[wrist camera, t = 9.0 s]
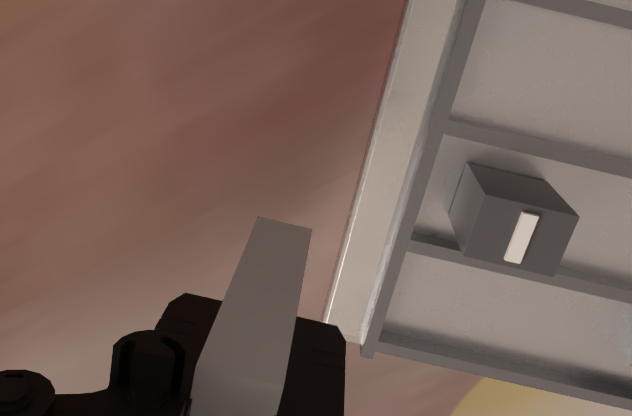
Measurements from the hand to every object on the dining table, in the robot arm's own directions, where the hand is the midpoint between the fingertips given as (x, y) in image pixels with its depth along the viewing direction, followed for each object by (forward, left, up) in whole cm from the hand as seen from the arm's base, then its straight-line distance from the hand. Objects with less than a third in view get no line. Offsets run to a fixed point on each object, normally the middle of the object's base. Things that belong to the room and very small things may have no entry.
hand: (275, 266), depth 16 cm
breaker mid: (0, +9, -10) cm, 13 cm away
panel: (0, +14, -12) cm, 18 cm away
